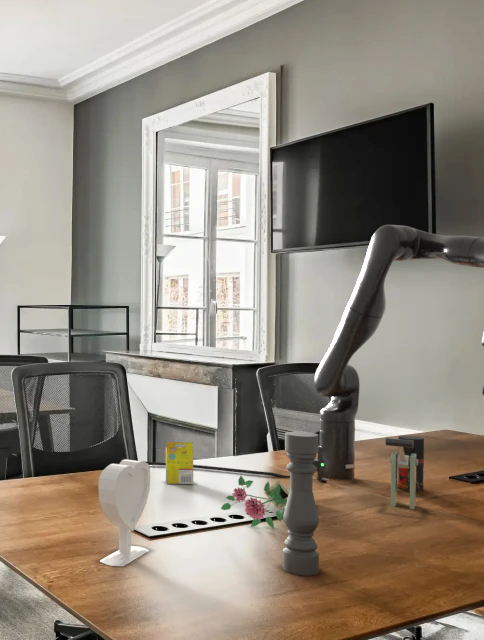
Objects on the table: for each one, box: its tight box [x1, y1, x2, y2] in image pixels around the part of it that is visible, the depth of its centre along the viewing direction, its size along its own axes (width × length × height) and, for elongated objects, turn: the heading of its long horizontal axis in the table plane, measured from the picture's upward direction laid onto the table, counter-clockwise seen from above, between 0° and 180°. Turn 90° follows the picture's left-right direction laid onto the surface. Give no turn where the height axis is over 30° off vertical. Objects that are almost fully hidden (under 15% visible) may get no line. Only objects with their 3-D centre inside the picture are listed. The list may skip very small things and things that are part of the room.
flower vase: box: [220, 474, 290, 529], centre depth 167 cm, size 12×12×35 cm
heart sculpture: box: [97, 458, 152, 567], centre depth 143 cm, size 16×5×18 cm, turn 144°
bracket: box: [388, 451, 418, 510], centre depth 178 cm, size 10×9×14 cm
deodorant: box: [397, 435, 425, 493], centre depth 195 cm, size 6×6×15 cm
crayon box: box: [165, 441, 195, 485], centre depth 206 cm, size 7×3×12 cm, turn 84°
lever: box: [385, 437, 413, 469], centre depth 173 cm, size 15×6×2 cm, turn 147°
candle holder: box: [282, 431, 320, 577], centre depth 136 cm, size 6×6×25 cm
